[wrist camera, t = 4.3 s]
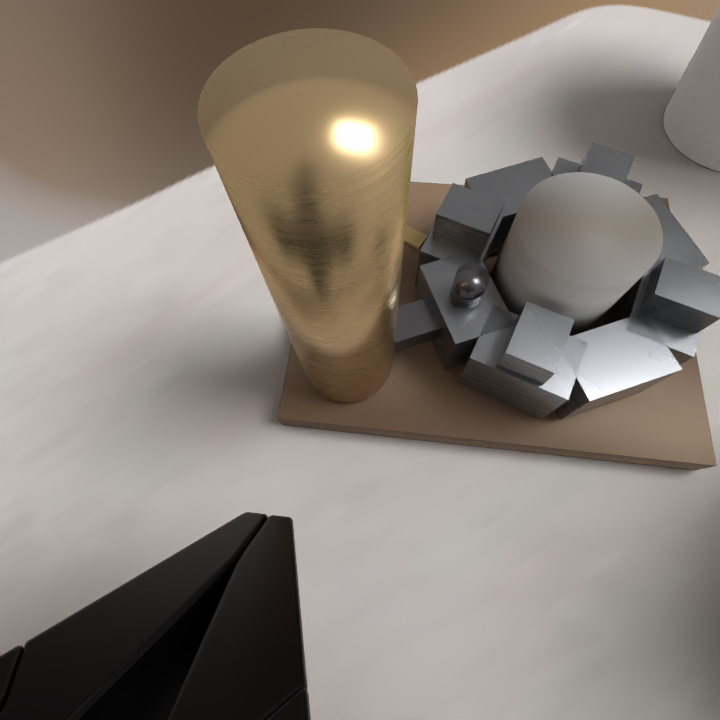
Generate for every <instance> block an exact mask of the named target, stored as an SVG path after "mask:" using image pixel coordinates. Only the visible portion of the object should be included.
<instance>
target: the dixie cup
mask: <svg viewBox="0 0 720 720" xmlns="http://www.w3.org/2000/svg"><path fill="white" fill-rule="evenodd" d="M663 124H664V129H665V132H666V134H667V136H668V138H669V140H670V141H671V142H672V144H673V145H674V146H675V147H676V148H677V149H678V150H679V151H680V152H681V153H682V154H684V155H685V156H686V157H688V158H689V159H691V160H692V161H694V162H696V163H698V164H700V165H702V166H704V167H707V168H710V169H712V170H716V171H719V172H720V6H719V8H718V10H717V12H716V14H715V16H714V18H713V19H712V21H711V23H710V25H709V27H708V29H707V31H706V33H705V35H704V37H703V39H702V41H701V42H700V44H699V46H698V48H697V50H696V52H695V54H694V56H693V58H692V59H691V60H690V62H689V64H688V66H687V68H686V70H685V72H684V74H683V76H682V78H681V79H680V81H679V85H678V87H677V88H676V90H675V92H674V94H673V96H672V98H671V100H670V102H669V104H668V106H667V108H666V110H665V112H664V116H663Z"/></svg>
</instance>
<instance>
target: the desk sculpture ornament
mask: <svg viewBox="0 0 720 720" xmlns="http://www.w3.org/2000/svg"><path fill="white" fill-rule="evenodd" d="M417 104H418V96H417V88H416V84H415V81H414V79H413V77H412V74H411V72H410V70H409V69H408V68H407V66H406V65H405V63H404V62H403V61H402V60H401V59H400V58H399V57H398V56H397V55H396V54H395V53H393V52H392V51H391V50H390V49H388V48H387V47H385V46H383V45H382V44H380V43H379V42H376V41H374V40H372V39H370V38H368V37H365V36H362V35H359V34H355V33H351V32H347V31H341V30H335V29H320V28H317V29H301V30H292V31H287V32H283V33H278V34H275V35H271V36H268V37H265V38H263V39H260V40H258V41H255V42H253V43H251V44H249V45H247V46H245V47H243V48H242V49H240V50H239V51H237V52H235V53H234V54H232V55H231V56H230V57H229V58H227V59H226V60H225V61H224V62H223V63H222V64H221V65H220V66H219V67H218V68H217V69H216V70H215V71H214V72H213V74H212V75H211V76H210V77H209V79H208V81H207V82H206V84H205V86H204V88H203V91H202V93H201V96H200V99H199V104H198V122H199V127H200V130H201V133H202V136H203V138H204V141H205V143H206V145H207V148H208V150H209V152H210V155H211V157H212V159H213V162H214V164H215V166H216V168H217V171H218V173H219V175H220V178H221V180H222V182H223V185H224V187H225V189H226V192H227V194H228V196H229V199H230V201H231V203H232V205H233V208H234V210H235V212H236V215H237V217H238V219H239V222H240V224H241V226H242V229H243V231H244V233H245V236H246V238H247V240H248V242H249V245H250V247H251V249H252V252H253V254H254V256H255V259H256V261H257V263H258V266H259V268H260V270H261V273H262V275H263V277H264V279H265V282H266V284H267V286H268V289H269V291H270V293H271V296H272V298H273V300H274V303H275V305H276V307H277V310H278V312H279V314H280V316H281V319H282V321H283V323H284V326H285V328H286V330H287V333H288V335H289V337H290V340H291V342H292V344H293V347H294V349H295V351H296V353H297V356H298V358H299V360H300V363H301V365H302V367H303V370H304V372H305V374H306V377H307V379H308V380H309V382H310V384H311V385H312V386H313V388H314V389H315V390H316V391H317V392H319V393H320V394H321V395H323V396H325V397H327V398H329V399H331V400H335V401H339V402H355V401H359V400H363V399H365V398H368V397H370V396H372V395H373V394H375V393H376V392H377V391H378V390H380V389H381V388H382V386H383V385H384V384H385V383H386V381H387V379H388V378H389V375H390V373H391V370H392V365H393V355H394V352H397V351H400V350H403V349H406V348H409V347H412V346H416V345H419V344H422V343H425V342H428V341H431V340H432V341H433V343H434V346H435V348H436V350H437V353H438V355H439V357H440V360H441V362H442V364H443V366H444V369H445V370H446V369H449V368H452V367H455V366H458V365H461V364H464V363H465V365H464V368H463V370H462V372H461V374H460V377H459V379H458V381H457V382H459V383H461V384H463V385H465V386H468V387H470V388H472V389H474V390H477V391H479V392H481V393H483V394H486V395H488V396H490V397H492V398H495V399H497V400H499V401H501V402H504V403H506V404H508V405H510V406H513V407H515V408H517V409H519V410H522V411H524V412H526V413H528V414H531V415H533V416H535V417H537V418H540V419H542V418H544V417H545V416H547V415H548V414H549V413H551V412H552V411H554V410H555V412H556V414H557V416H558V418H559V420H562V419H565V418H568V417H571V416H574V415H577V414H580V413H583V412H585V411H588V410H591V409H594V408H597V407H600V406H603V405H606V404H609V403H611V402H614V401H617V400H620V399H623V398H626V397H629V396H632V395H635V394H637V393H640V392H642V391H644V390H646V389H648V388H649V387H651V386H653V385H655V384H657V383H659V382H660V381H662V380H664V379H666V378H668V377H670V376H671V375H673V374H675V373H677V372H679V371H680V370H682V368H681V366H680V365H681V364H683V363H685V362H686V361H688V360H690V359H692V358H693V357H695V352H696V348H697V344H698V340H699V336H700V332H701V330H703V329H704V328H706V327H707V326H709V325H711V324H712V323H714V322H715V321H717V320H718V319H720V276H718V275H715V274H712V273H710V272H707V271H704V270H701V269H702V268H703V267H705V266H706V265H707V264H708V263H709V261H708V260H707V259H706V257H705V256H704V255H703V254H702V252H701V251H700V250H699V248H698V247H697V246H696V244H695V243H694V242H693V240H692V239H691V238H690V237H689V235H688V234H687V233H686V231H685V230H684V229H683V227H682V226H681V225H680V224H679V222H678V221H677V220H676V218H675V217H674V216H673V214H672V213H671V212H670V210H669V209H668V208H667V207H666V205H665V204H664V203H663V201H662V200H661V199H660V197H659V196H658V195H657V194H656V195H652V196H649V197H646V198H644V199H645V200H646V201H647V202H648V203H649V204H650V205H651V207H652V208H653V209H654V211H655V213H656V214H657V216H658V219H659V221H660V223H661V227H662V232H663V245H662V249H661V253H660V255H659V257H658V259H657V261H656V262H655V264H654V265H653V266H652V267H651V268H650V269H649V270H648V271H647V272H646V273H645V274H644V275H643V276H642V277H641V278H640V279H639V280H638V281H637V282H636V283H635V284H634V285H633V286H632V287H631V288H630V289H629V290H628V291H627V292H626V293H625V294H624V295H623V296H622V297H621V298H620V299H619V300H618V301H617V302H615V303H614V304H613V305H612V306H611V307H610V308H609V310H608V313H607V316H606V319H605V322H604V325H603V326H601V327H598V328H595V329H592V330H589V331H586V332H583V333H580V334H577V335H574V336H570V335H569V334H570V332H571V329H572V326H573V323H574V321H575V320H574V319H571V318H569V317H566V316H564V315H561V314H558V313H556V312H553V311H551V310H548V309H546V308H543V307H541V306H538V305H535V304H533V303H530V302H528V301H527V302H526V303H525V305H524V307H523V308H522V310H521V311H520V313H519V314H518V315H517V314H515V313H512V312H510V311H508V309H507V307H506V305H505V303H504V301H503V299H502V298H501V296H500V294H499V292H498V290H497V288H496V286H495V284H494V282H493V280H492V279H491V277H490V275H489V273H488V271H487V269H486V267H485V265H484V262H485V260H486V258H487V256H488V255H490V254H493V253H497V252H500V251H501V249H502V247H503V244H504V242H505V240H506V237H507V235H508V233H509V231H510V228H511V226H512V224H513V221H514V219H515V217H516V214H517V212H518V210H519V208H520V205H521V203H522V201H523V199H524V197H525V196H526V194H527V193H528V192H529V191H530V190H531V189H532V188H533V187H534V186H535V185H537V184H538V183H540V182H541V181H543V180H545V179H547V178H549V177H552V176H555V175H559V174H564V173H572V172H586V173H594V174H599V175H603V176H607V177H610V178H613V179H615V180H618V181H620V182H622V183H624V184H626V185H627V186H629V187H631V188H632V189H634V190H635V191H636V192H638V193H640V190H641V187H642V184H640V183H637V182H634V181H630V180H627V179H626V177H627V174H628V172H629V169H630V166H631V163H632V161H633V158H634V156H632V155H629V154H626V153H622V152H619V151H616V150H613V149H609V148H606V147H603V146H600V145H596V144H593V143H592V145H591V146H590V148H589V150H588V152H587V154H586V156H585V157H584V159H583V161H582V163H581V165H580V164H577V163H574V162H571V161H568V160H565V159H562V158H558V160H557V162H556V164H555V166H554V168H553V170H552V171H551V170H550V168H549V167H548V165H547V164H546V162H545V161H544V159H543V158H542V157H541V158H537V159H534V160H530V161H527V162H523V163H520V164H516V165H513V166H509V167H506V168H502V169H499V170H495V171H492V172H488V173H485V174H481V175H478V176H474V177H471V178H467V179H466V181H465V185H464V187H463V186H460V185H457V184H454V183H453V184H452V186H451V188H450V189H449V191H448V193H447V195H446V197H445V199H444V200H443V202H442V204H441V206H440V208H439V210H438V211H437V213H436V217H435V223H434V226H433V228H432V230H431V232H430V233H429V235H428V237H427V239H426V241H425V243H424V245H423V246H422V248H421V250H420V255H419V262H418V268H417V275H416V281H415V286H416V292H415V298H414V300H415V302H412V303H408V304H405V305H402V306H399V307H398V303H399V292H400V282H401V271H402V261H403V250H404V240H405V230H406V219H407V209H408V198H409V188H410V177H411V167H412V157H413V146H414V136H415V125H416V115H417Z"/></svg>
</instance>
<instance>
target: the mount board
mask: <svg viewBox="0 0 720 720" xmlns="http://www.w3.org/2000/svg"><path fill="white" fill-rule="evenodd" d="M451 186H452V184H437V183H422V182H410V188H409V198H408V209H407V219H406V230H405V240H404V250H403V261H402V271H401V282H400V292H399V303H398V307H399V306H402V305H405V304H408V303H412V302H415V300H414V298H415V292H416V286H415V281H416V275H417V268H418V262H419V255H420V250H421V248H422V246H423V245H424V243H425V241H426V239H427V237H428V235H429V233H430V232H431V230H432V228H433V226H434V223H435V217H436V213H437V211H438V210H439V208H440V206H441V204H442V202H443V200H444V199H445V197H446V195H447V193H448V191H449V189H450V188H451ZM460 186H463V187H464V185H460ZM644 198H646V197H642V196H641V195H640V194H639V193H638V192H636V191H635V190H634V189H632V188H631V187H629V186H627V185H626V184H624V183H622V182H620V181H618V180H615V179H613V178H610V177H607V176H603V175H599V174H594V173H586V172H572V173H564V174H559V175H555V176H552V177H549V178H547V179H545V180H543V181H541V182H540V183H538V184H537V185H535V186H534V187H533V188H532V189H531V190H530V191H529V192H528V193H527V194H526V196H525V197H524V199H523V201H522V203H521V205H520V208H519V210H518V212H517V214H516V217H515V219H514V221H513V224H512V226H511V228H510V231H509V233H508V235H507V237H506V240H505V242H504V244H503V247H502V249H501V251H500V252H497V253H493V254H490V255H488V256H487V258H486V260H485V262H484V265H485V267H486V269H487V271H488V273H489V275H490V277H491V279H492V280H493V282H494V284H495V286H496V288H497V290H498V292H499V294H500V296H501V298H502V299H503V301H504V303H505V305H506V307H507V309H508V311H510V312H512V313H515V314H517V315H518V314H519V313H520V311H521V310H522V308H523V307H524V305H525V303H526V302H527V301H528V302H530V303H533V304H535V305H538V306H541V307H543V308H546V309H548V310H551V311H553V312H556V313H558V314H561V315H564V316H566V317H569V318H571V319H574V320H575V321H574V323H573V326H572V329H571V332H570V334H569V335H570V336H574V335H577V334H580V333H583V332H586V331H589V330H592V329H595V328H598V327H601V326H603V325H604V322H605V319H606V316H607V313H608V310H609V308H610V307H611V306H612V305H613V304H614V303H615V302H617V301H618V300H619V299H620V298H621V297H622V296H623V295H624V294H625V293H626V292H627V291H628V290H629V289H630V288H631V287H632V286H633V285H634V284H635V283H636V282H637V281H638V280H639V279H640V278H641V277H642V276H643V275H644V274H645V273H646V272H647V271H648V270H649V269H650V268H651V267H652V266H653V265H654V264H655V262H656V261H657V259H658V257H659V255H660V253H661V249H662V245H663V232H662V227H661V223H660V221H659V219H658V216H657V214H656V213H655V211H654V209H653V208H652V207H651V205H650V204H649V203H648V202H647V201H646V200H645V199H644ZM660 199H661V200H662V201H663V203H664V204H665V205H666V207H667V208H668V209H669V204H668V199H667V198H660ZM669 210H670V209H669ZM464 365H465V363H464V364H461V365H458V366H455V367H452V368H449V369H446V370H445V369H444V366H443V364H442V362H441V360H440V357H439V355H438V353H437V350H436V348H435V346H434V343H433V341H432V340H431V341H428V342H425V343H422V344H419V345H416V346H412V347H409V348H406V349H403V350H400V351H397V352H394V355H393V365H392V370H391V373H390V375H389V378H388V379H387V381H386V383H385V384H384V385H383V386H382V388H381V389H380V390H378V391H377V392H376V393H375V394H373V395H372V396H370V397H368V398H365V399H363V400H359V401H355V402H339V401H335V400H331V399H329V398H327V397H325V396H323V395H321V394H320V393H319V392H317V391H316V390H315V389H314V388H313V386H312V385H311V384H310V382H309V380H308V379H307V377H306V374H305V372H304V370H303V367H302V365H301V363H300V360H299V358H298V356H297V353H296V351H295V349H294V347H293V344H292V345H291V350H290V355H289V360H288V366H287V371H286V376H285V381H284V386H283V391H282V397H281V402H280V407H279V412H278V417H277V418H278V419H279V421H280V422H281V423H282V424H283V425H289V426H298V427H307V428H317V429H326V430H335V431H344V432H353V433H362V434H371V435H380V436H389V437H399V438H408V439H417V440H426V441H435V442H444V443H453V444H462V445H471V446H481V447H490V448H499V449H508V450H517V451H526V452H535V453H544V454H553V455H563V456H572V457H581V458H590V459H599V460H608V461H617V462H626V463H635V464H645V465H654V466H663V467H672V468H681V469H690V470H698V469H703V468H708V467H713V466H717V465H716V460H715V455H714V449H713V444H712V438H711V433H710V427H709V422H708V416H707V411H706V405H705V400H704V395H703V389H702V384H701V378H700V373H699V367H698V362H697V356H696V352H695V357H693V358H692V359H690V360H688V361H686V362H685V363H683V364H681V365H680V366H681V368H682V370H680V371H679V372H677V373H675V374H673V375H671V376H670V377H668V378H666V379H664V380H662V381H660V382H659V383H657V384H655V385H653V386H651V387H649V388H648V389H646V390H644V391H642V392H640V393H637V394H635V395H632V396H629V397H626V398H623V399H620V400H617V401H614V402H611V403H609V404H606V405H603V406H600V407H597V408H594V409H591V410H588V411H585V412H583V413H580V414H577V415H574V416H571V417H568V418H565V419H562V420H559V418H558V416H557V414H556V412H555V410H554V411H552V412H551V413H549V414H548V415H547V416H545V417H544V418H542V419H540V418H537V417H535V416H533V415H531V414H528V413H526V412H524V411H522V410H519V409H517V408H515V407H513V406H510V405H508V404H506V403H504V402H501V401H499V400H497V399H495V398H492V397H490V396H488V395H486V394H483V393H481V392H479V391H477V390H474V389H472V388H470V387H468V386H465V385H463V384H461V383H459V382H457V381H458V379H459V377H460V374H461V372H462V370H463V368H464Z"/></svg>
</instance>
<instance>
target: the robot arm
mask: <svg viewBox="0 0 720 720" xmlns="http://www.w3.org/2000/svg"><path fill="white" fill-rule="evenodd" d="M0 720H311V718H310V707H309V695H308V692H307V677H306V666H305V655H304V643H303V632H302V620H301V609H300V598H299V586H298V575H297V563H296V552H295V541H294V529H293V520H292V519H291V518H290V517H283V516H275V515H272V516H269V517H268V516H267V515H265V514H259V513H251V512H246V513H244V514H242V515H240V516H238V517H236V518H235V519H233V520H231V521H230V522H228V523H226V524H225V525H223V526H221V527H220V528H218V529H216V530H215V531H213V532H211V533H209V534H208V535H206V536H204V537H203V538H201V539H199V540H198V541H196V542H194V543H193V544H191V545H189V546H187V547H186V548H184V549H182V550H181V551H179V552H177V553H176V554H174V555H172V556H171V557H169V558H167V559H166V560H164V561H162V562H160V563H159V564H157V565H155V566H154V567H152V568H150V569H149V570H147V571H145V572H144V573H142V574H140V575H138V576H137V577H135V578H133V579H132V580H130V581H128V582H127V583H125V584H123V585H122V586H120V587H118V588H117V589H115V590H113V591H111V592H110V593H108V594H106V595H105V596H103V597H101V598H100V599H98V600H96V601H95V602H93V603H91V604H89V605H88V606H86V607H84V608H83V609H81V610H79V611H78V612H76V613H74V614H73V615H71V616H69V617H68V618H66V619H64V620H62V621H61V622H59V623H57V624H56V625H54V626H52V627H51V628H49V629H47V630H46V631H44V632H42V633H40V634H39V635H37V636H35V637H34V638H32V639H30V640H29V641H27V642H26V644H25V646H24V648H23V646H17V647H15V648H13V649H11V650H10V651H8V652H6V653H5V654H3V655H1V656H0Z"/></svg>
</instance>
